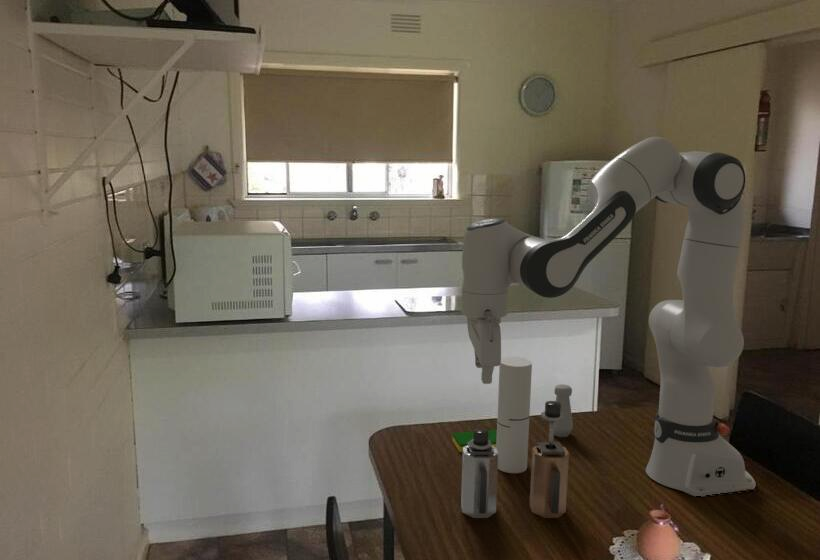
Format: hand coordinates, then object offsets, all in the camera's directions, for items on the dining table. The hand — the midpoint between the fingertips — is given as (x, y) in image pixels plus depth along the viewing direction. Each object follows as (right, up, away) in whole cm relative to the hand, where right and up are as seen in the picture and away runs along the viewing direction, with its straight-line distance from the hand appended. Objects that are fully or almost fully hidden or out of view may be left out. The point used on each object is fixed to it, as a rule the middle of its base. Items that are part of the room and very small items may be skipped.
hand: (483, 374), depth 129 cm
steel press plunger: (0, -24, +4) cm, 24 cm away
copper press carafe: (+14, -28, +4) cm, 32 cm away
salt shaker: (+25, -22, +42) cm, 53 cm away
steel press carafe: (0, -28, +4) cm, 28 cm away
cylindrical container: (+9, -25, +24) cm, 36 cm away
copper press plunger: (+14, -18, +4) cm, 23 cm away
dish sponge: (+4, -23, +36) cm, 43 cm away
